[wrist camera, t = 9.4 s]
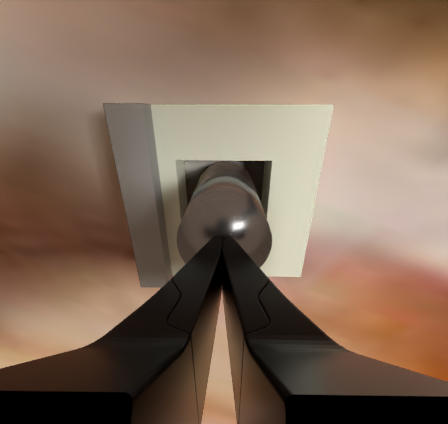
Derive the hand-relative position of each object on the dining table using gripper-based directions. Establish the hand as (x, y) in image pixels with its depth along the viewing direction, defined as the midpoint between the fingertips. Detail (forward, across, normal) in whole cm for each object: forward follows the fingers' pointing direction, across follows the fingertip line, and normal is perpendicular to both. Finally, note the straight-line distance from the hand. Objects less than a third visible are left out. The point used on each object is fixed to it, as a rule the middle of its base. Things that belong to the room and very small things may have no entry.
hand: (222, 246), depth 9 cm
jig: (+7, 0, 0) cm, 7 cm away
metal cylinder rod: (+7, 0, 0) cm, 7 cm away
